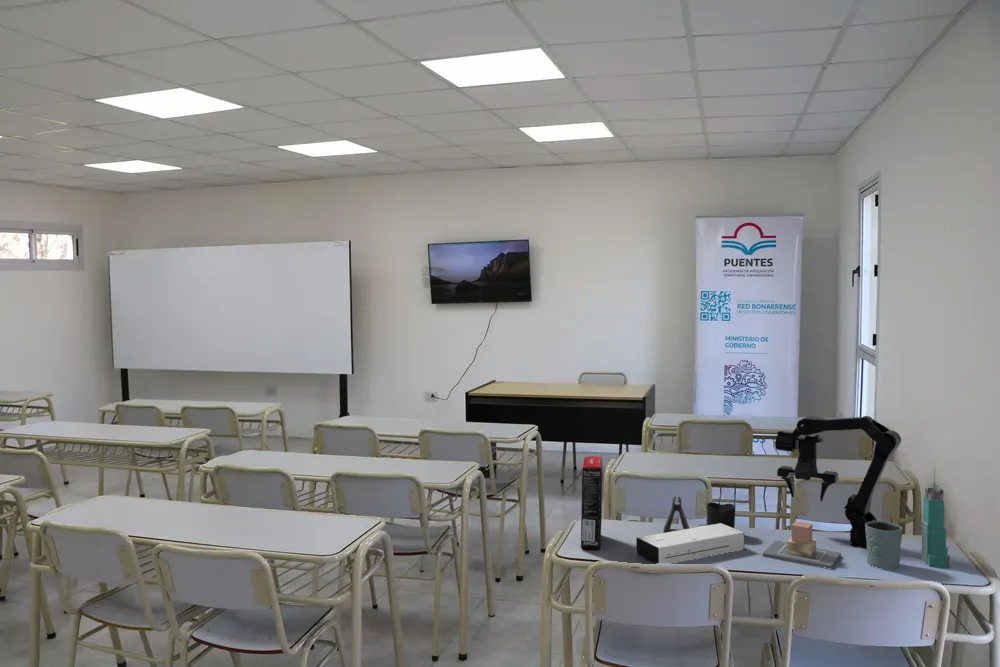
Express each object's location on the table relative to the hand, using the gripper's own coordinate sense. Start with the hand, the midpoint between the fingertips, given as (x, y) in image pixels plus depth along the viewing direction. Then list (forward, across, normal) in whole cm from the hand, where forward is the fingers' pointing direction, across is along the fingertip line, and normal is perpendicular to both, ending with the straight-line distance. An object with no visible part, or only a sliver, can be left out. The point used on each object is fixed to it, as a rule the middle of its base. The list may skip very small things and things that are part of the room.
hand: (807, 499), depth 252 cm
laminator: (+13, -26, -40) cm, 50 cm away
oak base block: (+12, +4, -24) cm, 27 cm away
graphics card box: (+12, -57, -49) cm, 76 cm away
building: (+12, +39, -8) cm, 42 cm away
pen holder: (+12, -24, -17) cm, 32 cm away
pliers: (+12, -37, -24) cm, 46 cm away
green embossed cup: (+12, +26, -18) cm, 34 cm away
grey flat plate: (+12, +4, -24) cm, 27 cm away
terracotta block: (+7, +4, -24) cm, 25 cm away
